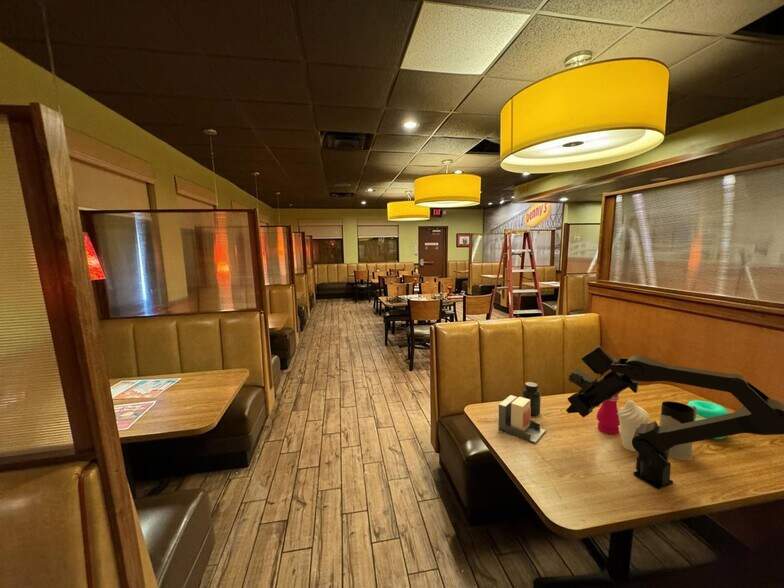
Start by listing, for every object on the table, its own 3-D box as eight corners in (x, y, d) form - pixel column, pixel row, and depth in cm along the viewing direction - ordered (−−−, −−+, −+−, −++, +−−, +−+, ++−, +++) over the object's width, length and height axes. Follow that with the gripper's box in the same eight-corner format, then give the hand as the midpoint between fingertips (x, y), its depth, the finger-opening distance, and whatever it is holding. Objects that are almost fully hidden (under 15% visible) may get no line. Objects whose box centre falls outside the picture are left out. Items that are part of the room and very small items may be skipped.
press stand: (545, 432, 112) (546, 405, 111) (535, 444, 105) (536, 416, 104) (510, 419, 121) (510, 395, 120) (498, 430, 114) (498, 404, 113)
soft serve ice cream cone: (645, 444, 103) (648, 398, 101) (650, 459, 96) (653, 409, 94) (614, 437, 108) (616, 393, 106) (616, 451, 100) (619, 403, 99)
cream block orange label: (531, 426, 114) (532, 400, 113) (523, 434, 109) (524, 407, 108) (518, 422, 117) (519, 396, 116) (510, 429, 112) (511, 403, 111)
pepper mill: (624, 436, 108) (628, 381, 106) (601, 435, 109) (604, 380, 107) (614, 425, 115) (617, 373, 113) (592, 424, 116) (595, 372, 114)
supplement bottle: (521, 407, 130) (521, 380, 129) (539, 410, 128) (540, 381, 127) (521, 415, 124) (522, 386, 123) (540, 418, 122) (541, 388, 120)
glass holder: (649, 447, 102) (652, 403, 100) (676, 437, 107) (679, 395, 105) (682, 463, 94) (686, 416, 92) (709, 451, 99) (714, 406, 97)
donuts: (734, 407, 106) (721, 415, 101) (731, 435, 107) (719, 444, 102) (695, 396, 115) (682, 403, 110) (692, 422, 116) (680, 429, 111)
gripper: (596, 358, 103) (560, 383, 112) (575, 369, 91) (537, 396, 100) (625, 388, 98) (584, 412, 106) (607, 403, 85) (563, 429, 94)
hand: (567, 411), depth 102 cm, fingers closed
